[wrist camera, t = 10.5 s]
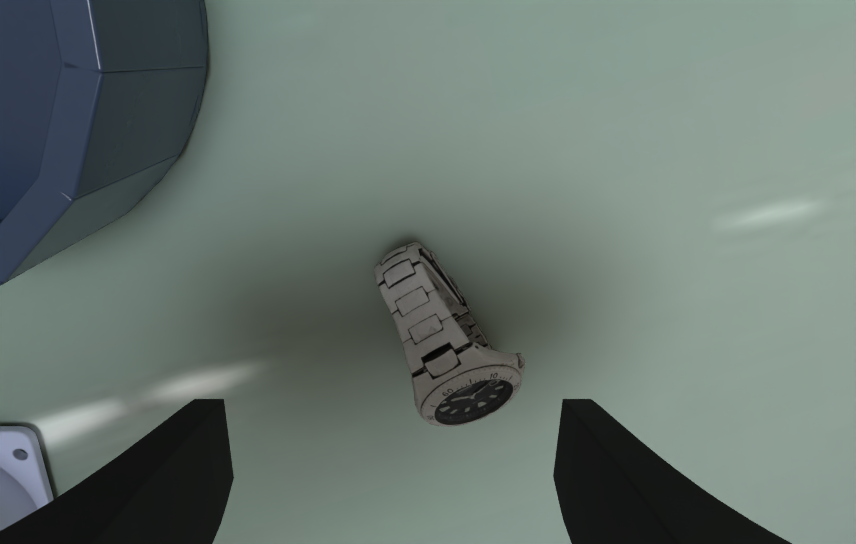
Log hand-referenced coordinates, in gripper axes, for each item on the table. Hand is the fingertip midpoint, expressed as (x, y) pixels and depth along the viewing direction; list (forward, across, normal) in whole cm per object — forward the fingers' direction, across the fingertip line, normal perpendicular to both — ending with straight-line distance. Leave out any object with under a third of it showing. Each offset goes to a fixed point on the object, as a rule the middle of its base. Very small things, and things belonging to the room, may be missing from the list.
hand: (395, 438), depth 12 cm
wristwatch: (+8, -2, 0) cm, 9 cm away
